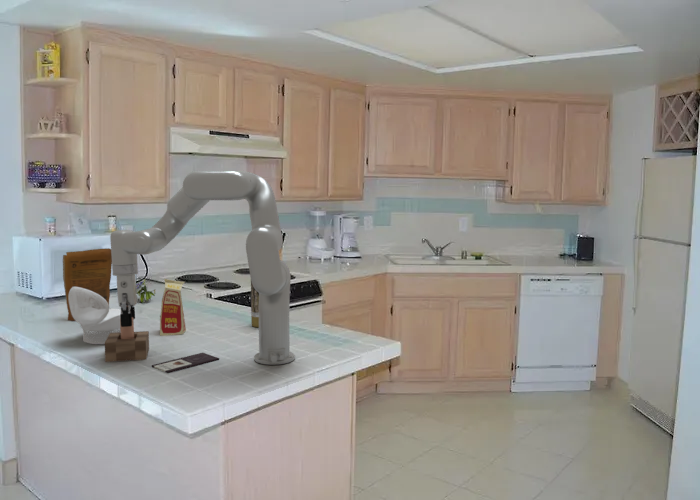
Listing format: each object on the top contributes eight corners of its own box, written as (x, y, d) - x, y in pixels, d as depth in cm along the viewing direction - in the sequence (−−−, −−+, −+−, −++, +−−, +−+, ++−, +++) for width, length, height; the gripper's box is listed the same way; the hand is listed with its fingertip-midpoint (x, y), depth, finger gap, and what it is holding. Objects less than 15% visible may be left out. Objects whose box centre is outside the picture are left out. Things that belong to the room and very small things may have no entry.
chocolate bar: (219, 358, 190) (167, 371, 177) (219, 361, 190) (168, 374, 177) (202, 352, 196) (151, 365, 183) (202, 355, 196) (151, 368, 183)
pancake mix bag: (117, 317, 246) (114, 248, 243) (66, 323, 236) (62, 251, 232) (113, 314, 252) (110, 246, 248) (63, 320, 241) (59, 249, 238)
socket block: (146, 359, 190) (145, 340, 190) (105, 361, 187) (104, 342, 187) (149, 348, 202) (148, 331, 201) (110, 351, 199) (109, 333, 198)
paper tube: (265, 328, 229) (265, 262, 226) (248, 327, 231) (247, 262, 228) (271, 324, 236) (271, 260, 233) (255, 323, 237) (254, 259, 234)
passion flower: (133, 313, 278) (125, 290, 282) (157, 306, 283) (148, 283, 287) (134, 303, 269) (126, 279, 273) (159, 296, 274) (150, 273, 278)
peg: (134, 356, 193) (132, 319, 192) (120, 357, 192) (119, 320, 191) (135, 352, 197) (134, 316, 196) (122, 353, 196) (120, 317, 195)
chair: (143, 338, 215) (141, 282, 213) (92, 351, 199) (90, 291, 196) (109, 329, 226) (107, 276, 224) (58, 341, 210) (55, 284, 208)
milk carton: (160, 335, 218) (158, 280, 216) (160, 329, 227) (159, 276, 225) (186, 334, 221) (184, 279, 218) (186, 328, 229) (184, 275, 227)
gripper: (135, 273, 184) (138, 328, 186) (140, 265, 201) (143, 316, 203) (108, 274, 182) (112, 330, 184) (116, 266, 199) (119, 317, 201)
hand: (128, 322), depth 193 cm, fingers open, 9 cm apart
